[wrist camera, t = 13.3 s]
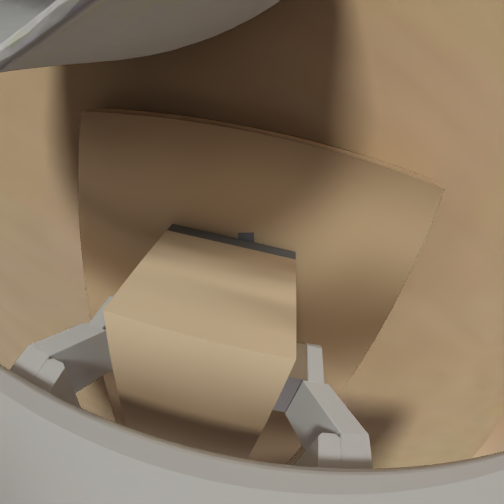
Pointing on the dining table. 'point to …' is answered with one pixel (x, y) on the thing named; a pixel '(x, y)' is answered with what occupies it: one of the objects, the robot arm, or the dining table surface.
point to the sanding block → (204, 339)
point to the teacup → (111, 28)
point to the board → (255, 224)
